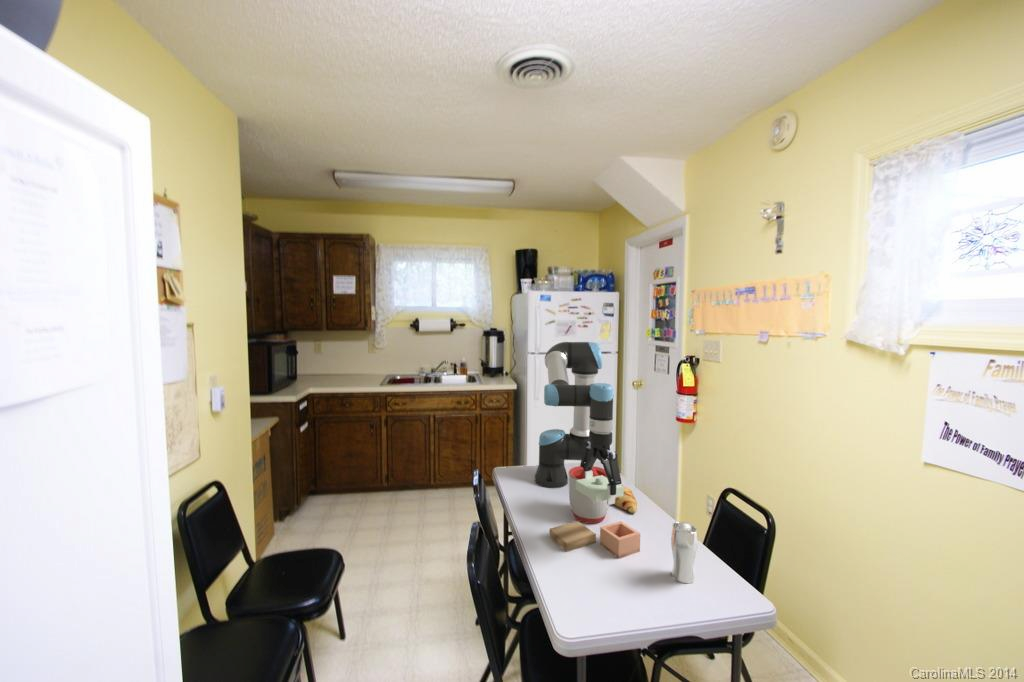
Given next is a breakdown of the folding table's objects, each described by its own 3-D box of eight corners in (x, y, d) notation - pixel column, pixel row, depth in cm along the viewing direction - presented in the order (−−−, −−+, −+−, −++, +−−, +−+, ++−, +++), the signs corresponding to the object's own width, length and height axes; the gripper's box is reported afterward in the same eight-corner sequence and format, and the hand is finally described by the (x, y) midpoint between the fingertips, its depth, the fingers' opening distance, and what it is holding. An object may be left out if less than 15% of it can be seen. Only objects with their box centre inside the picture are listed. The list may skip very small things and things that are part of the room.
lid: (575, 489, 139) (575, 476, 139) (601, 483, 144) (602, 471, 143) (596, 502, 129) (596, 489, 129) (623, 495, 134) (623, 483, 134)
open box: (599, 544, 138) (600, 527, 137) (620, 538, 142) (620, 521, 141) (618, 558, 130) (619, 540, 129) (639, 551, 134) (640, 533, 134)
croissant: (641, 523, 159) (650, 505, 159) (620, 514, 157) (630, 495, 157) (615, 498, 180) (624, 482, 180) (597, 489, 177) (605, 473, 178)
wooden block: (549, 537, 142) (549, 528, 142) (577, 529, 148) (577, 520, 147) (566, 551, 133) (566, 542, 133) (595, 542, 139) (595, 534, 139)
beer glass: (674, 566, 126) (676, 518, 125) (698, 576, 121) (700, 526, 120) (666, 577, 120) (668, 527, 120) (691, 587, 116) (693, 536, 115)
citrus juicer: (615, 529, 147) (616, 475, 146) (566, 524, 151) (567, 470, 149) (613, 509, 163) (615, 460, 161) (569, 505, 166) (570, 456, 165)
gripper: (570, 423, 144) (569, 485, 145) (615, 442, 123) (613, 514, 124) (588, 421, 147) (587, 482, 149) (634, 439, 126) (632, 509, 128)
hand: (599, 496), depth 136 cm, fingers closed on lid, 11 cm apart
